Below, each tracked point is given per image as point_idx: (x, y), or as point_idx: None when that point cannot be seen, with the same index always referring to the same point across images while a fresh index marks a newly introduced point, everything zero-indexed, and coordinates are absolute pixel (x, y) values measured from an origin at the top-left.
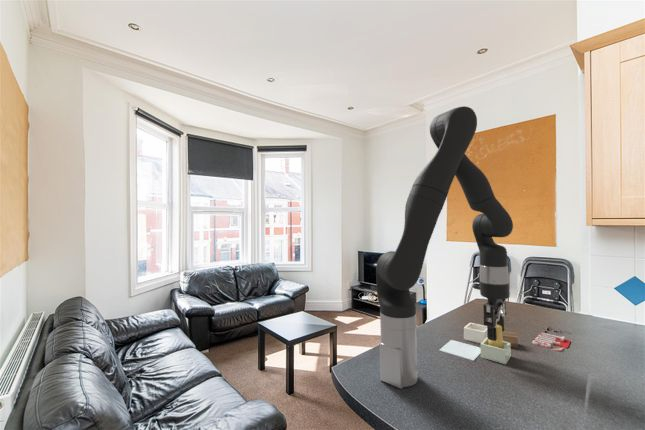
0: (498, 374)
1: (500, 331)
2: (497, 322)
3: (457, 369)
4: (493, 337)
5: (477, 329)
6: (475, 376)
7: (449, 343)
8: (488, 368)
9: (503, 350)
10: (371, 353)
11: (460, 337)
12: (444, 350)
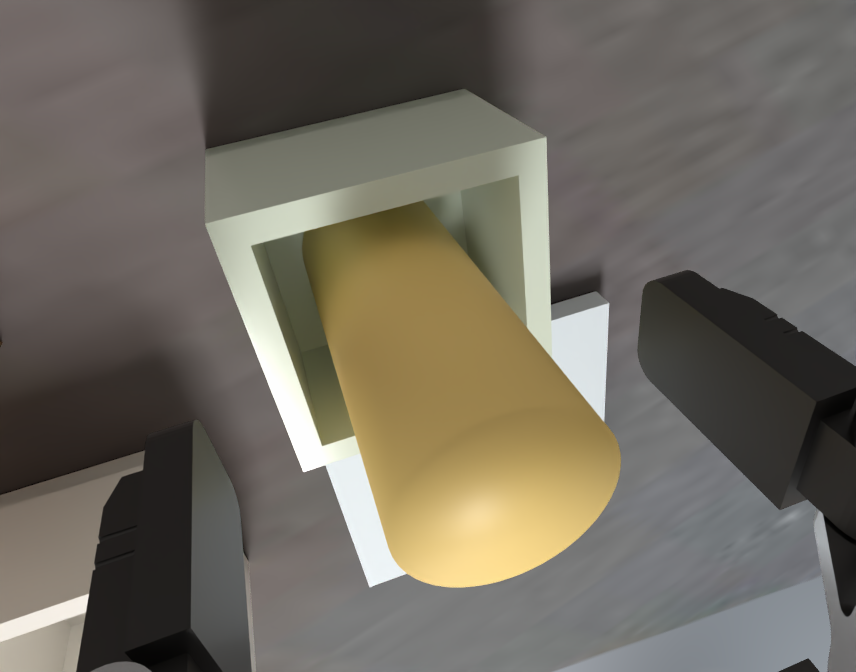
0: (671, 56)
1: (525, 366)
2: (239, 610)
3: (755, 291)
4: (757, 303)
5: (23, 662)
6: (796, 162)
7: None
8: (612, 172)
9: (542, 156)
10: (795, 575)
11: None
12: None
